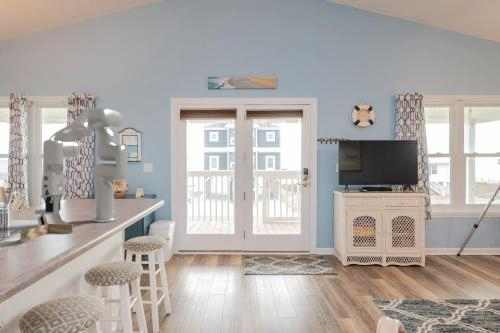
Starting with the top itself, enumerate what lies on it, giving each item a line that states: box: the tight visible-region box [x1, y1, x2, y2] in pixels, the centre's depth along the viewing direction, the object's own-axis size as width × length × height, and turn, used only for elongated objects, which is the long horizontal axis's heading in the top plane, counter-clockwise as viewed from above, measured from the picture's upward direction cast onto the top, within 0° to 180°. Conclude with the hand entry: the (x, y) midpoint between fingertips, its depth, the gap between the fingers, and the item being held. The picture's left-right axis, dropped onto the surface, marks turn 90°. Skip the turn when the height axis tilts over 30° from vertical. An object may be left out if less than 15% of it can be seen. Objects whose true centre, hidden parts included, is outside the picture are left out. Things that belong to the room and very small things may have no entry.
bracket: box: [34, 195, 60, 215], centre depth 144 cm, size 8×4×8 cm, turn 88°
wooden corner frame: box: [20, 223, 74, 243], centre depth 147 cm, size 18×12×4 cm, turn 178°
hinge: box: [37, 212, 67, 226], centre depth 164 cm, size 17×5×10 cm, turn 9°
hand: (52, 210), depth 144 cm, fingers closed on bracket, 4 cm apart
